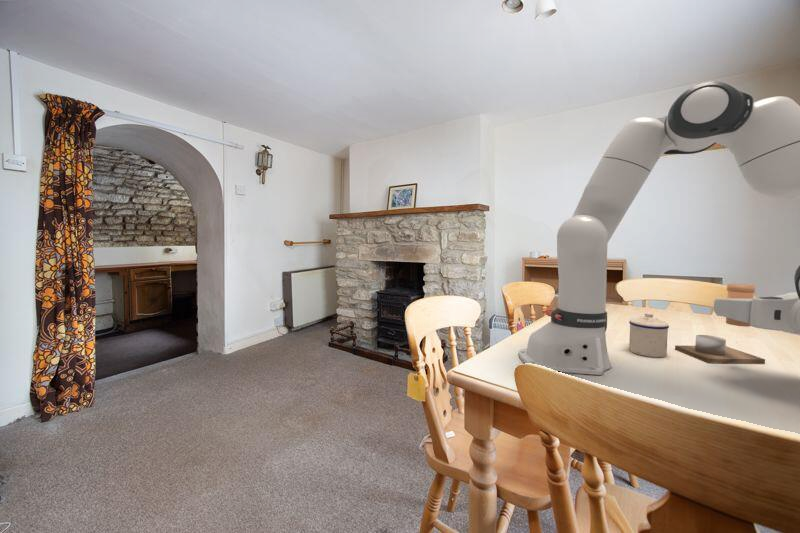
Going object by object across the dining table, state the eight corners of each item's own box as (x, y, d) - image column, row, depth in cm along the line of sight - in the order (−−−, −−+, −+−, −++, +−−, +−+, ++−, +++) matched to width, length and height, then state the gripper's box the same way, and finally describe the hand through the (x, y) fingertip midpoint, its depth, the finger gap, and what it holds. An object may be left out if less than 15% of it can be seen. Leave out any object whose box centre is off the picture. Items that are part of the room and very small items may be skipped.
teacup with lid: (676, 358, 88) (678, 316, 87) (641, 357, 88) (642, 316, 87) (646, 344, 99) (647, 308, 99) (615, 344, 100) (617, 307, 99)
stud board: (708, 363, 84) (709, 343, 84) (675, 349, 95) (675, 332, 94) (764, 363, 83) (766, 344, 83) (724, 349, 94) (725, 332, 94)
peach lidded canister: (737, 326, 78) (740, 286, 77) (719, 321, 83) (721, 283, 82) (758, 326, 78) (761, 286, 77) (738, 322, 82) (741, 283, 82)
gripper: (856, 299, 66) (780, 289, 80) (751, 298, 67) (695, 289, 81) (853, 329, 66) (778, 314, 80) (749, 328, 68) (693, 313, 81)
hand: (736, 301), depth 81 cm, fingers closed on peach lidded canister, 4 cm apart
